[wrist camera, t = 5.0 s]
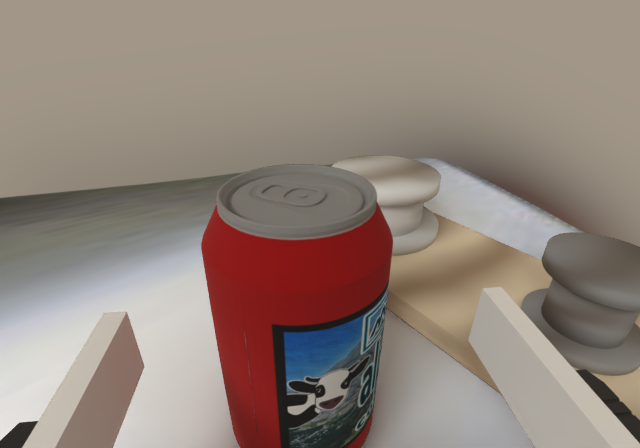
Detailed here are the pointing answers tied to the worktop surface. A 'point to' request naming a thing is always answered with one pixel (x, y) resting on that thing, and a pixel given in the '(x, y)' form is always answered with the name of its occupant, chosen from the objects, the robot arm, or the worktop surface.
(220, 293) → the beverage can
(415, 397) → the worktop surface
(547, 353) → the robot arm
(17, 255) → the worktop surface
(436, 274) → the wooden knob board
